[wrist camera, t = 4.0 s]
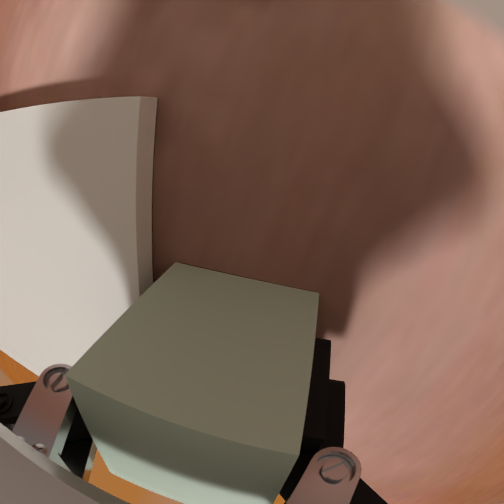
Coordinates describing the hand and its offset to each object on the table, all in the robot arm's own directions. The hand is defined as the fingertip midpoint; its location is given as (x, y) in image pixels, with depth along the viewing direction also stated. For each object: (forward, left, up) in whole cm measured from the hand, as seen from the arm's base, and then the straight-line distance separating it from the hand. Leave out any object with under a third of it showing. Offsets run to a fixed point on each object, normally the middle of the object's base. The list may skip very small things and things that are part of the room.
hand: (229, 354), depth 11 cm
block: (0, 0, -1) cm, 1 cm away
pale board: (+11, 0, -1) cm, 11 cm away
